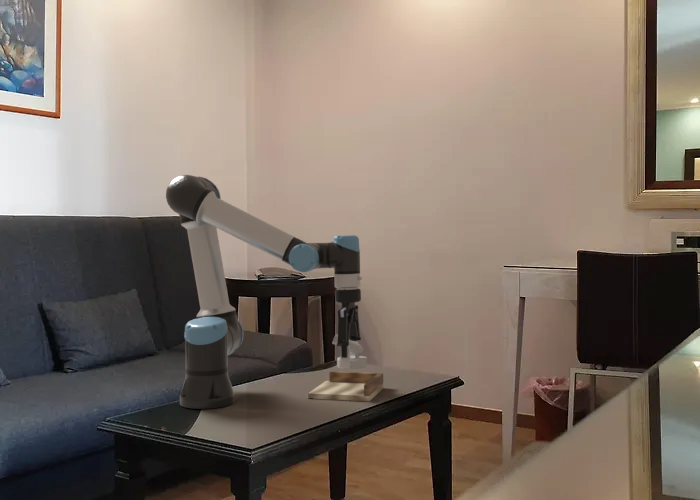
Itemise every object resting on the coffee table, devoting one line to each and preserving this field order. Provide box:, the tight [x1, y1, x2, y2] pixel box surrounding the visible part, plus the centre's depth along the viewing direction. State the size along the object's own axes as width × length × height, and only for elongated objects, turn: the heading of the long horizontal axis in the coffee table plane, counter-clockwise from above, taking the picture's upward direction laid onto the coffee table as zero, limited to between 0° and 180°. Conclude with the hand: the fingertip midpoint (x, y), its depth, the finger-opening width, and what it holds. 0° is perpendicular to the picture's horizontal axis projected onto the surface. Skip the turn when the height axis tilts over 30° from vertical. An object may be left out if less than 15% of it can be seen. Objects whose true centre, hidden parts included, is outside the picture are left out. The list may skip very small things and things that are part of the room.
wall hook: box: [331, 333, 368, 370], centre depth 220 cm, size 9×10×10 cm
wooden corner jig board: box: [307, 370, 384, 402], centre depth 221 cm, size 18×18×4 cm
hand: (349, 365), depth 220 cm, fingers closed on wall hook, 9 cm apart
